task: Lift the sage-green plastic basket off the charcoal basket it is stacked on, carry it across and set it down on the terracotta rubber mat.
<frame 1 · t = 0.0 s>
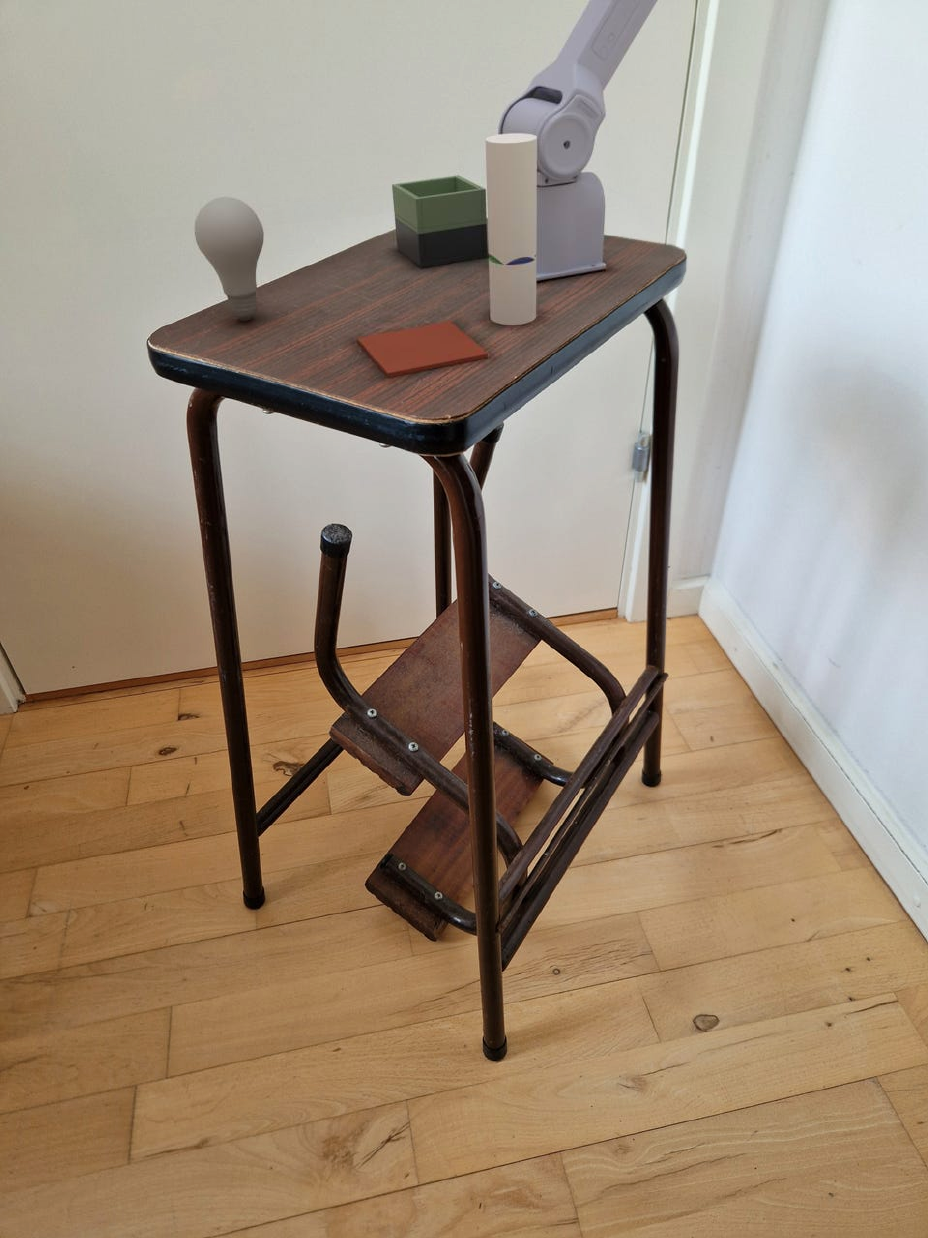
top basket: (439, 220, 98), point 3 cm above the table, touching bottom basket
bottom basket: (441, 253, 100), on the table, touching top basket
mat: (420, 349, 78), on the table
tube: (513, 319, 83), on the table
lightbulb: (246, 322, 86), on the table
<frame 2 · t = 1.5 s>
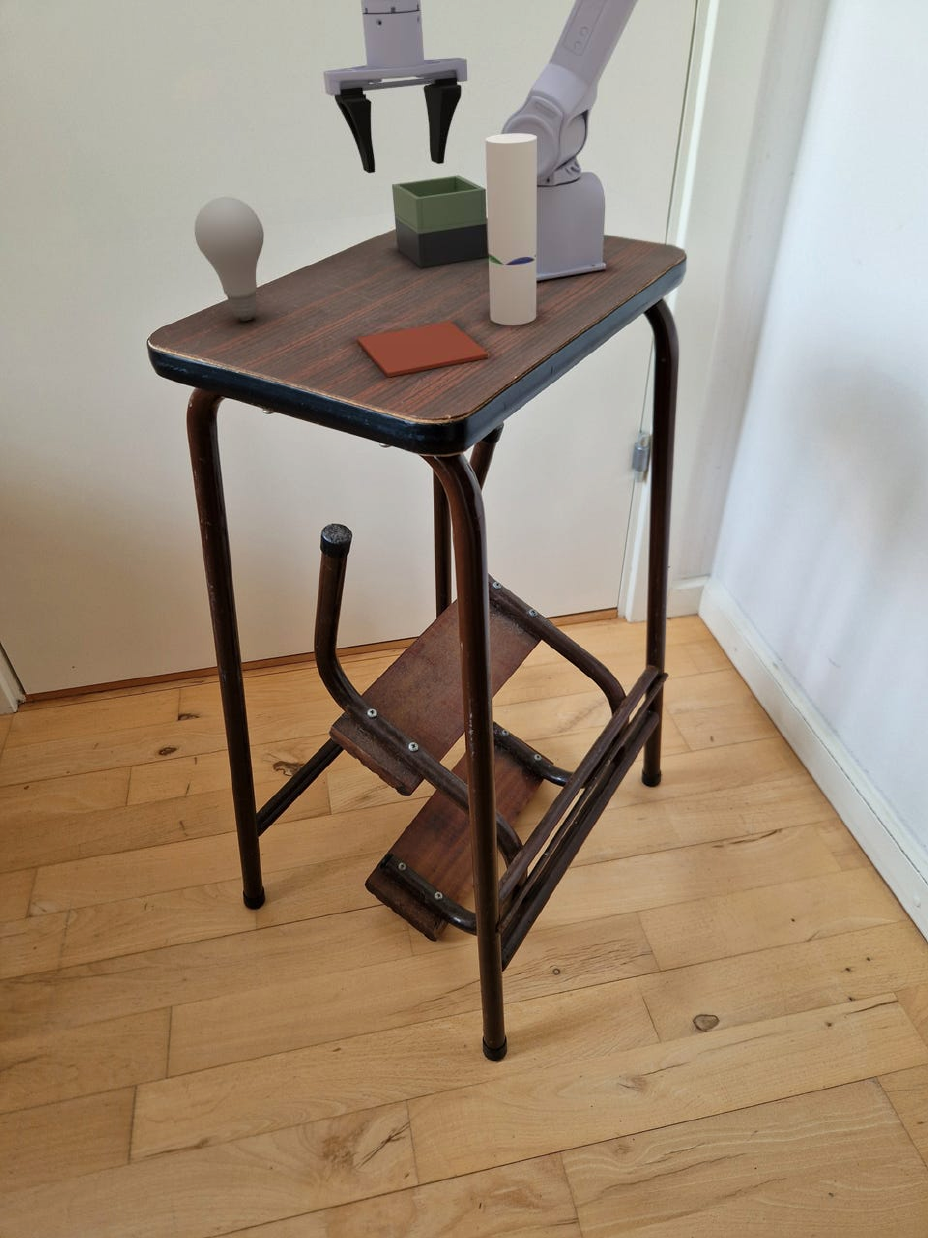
hand: (403, 166, 94), 9 cm above the table, tool pointing down, fingers open, 7 cm apart
nothing on the table moved.
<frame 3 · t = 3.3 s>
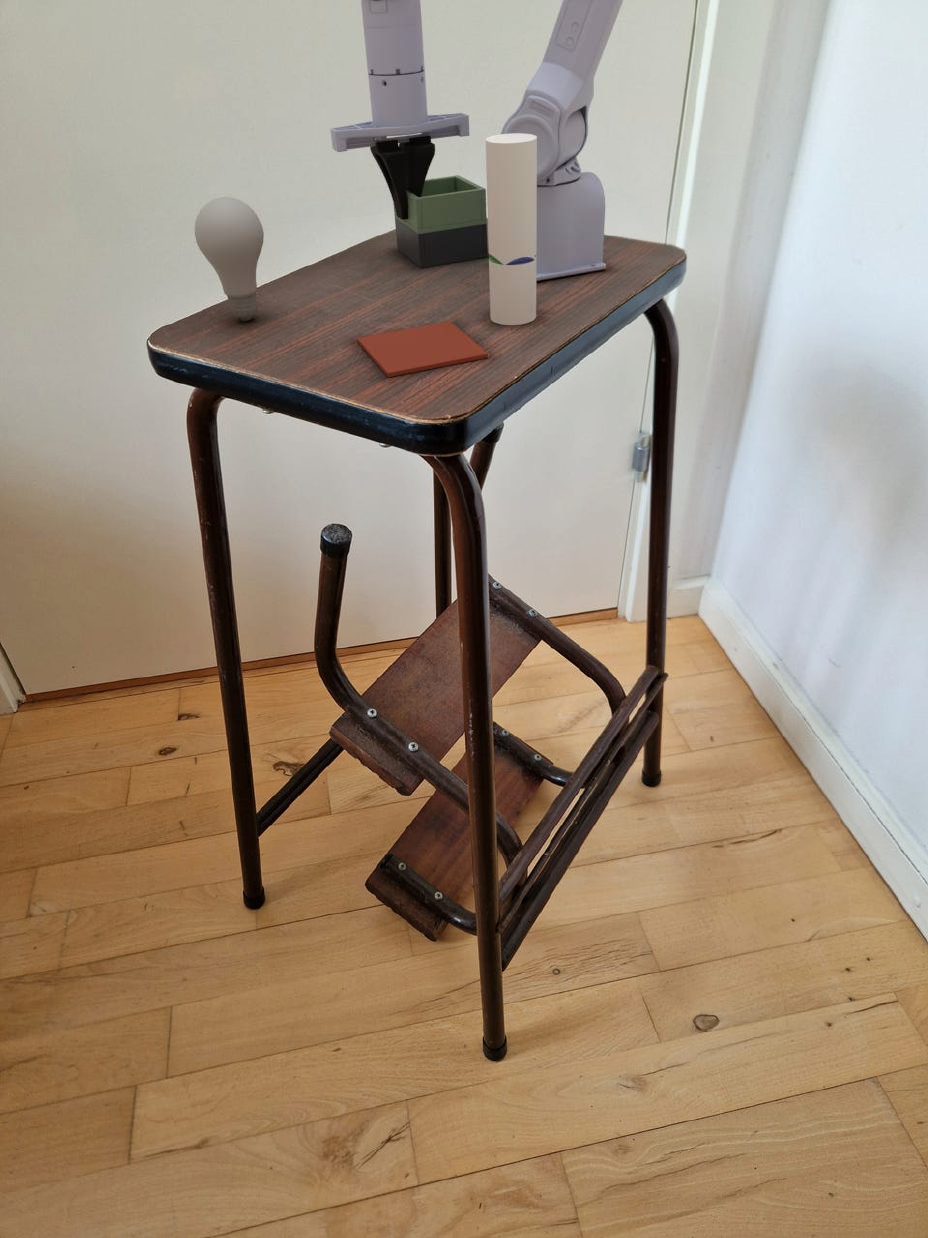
hand: (407, 216, 97), 4 cm above the table, tool pointing down, fingers closed on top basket
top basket: (439, 220, 98), point 4 cm above the table, touching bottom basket, gripper
everything else where it was.
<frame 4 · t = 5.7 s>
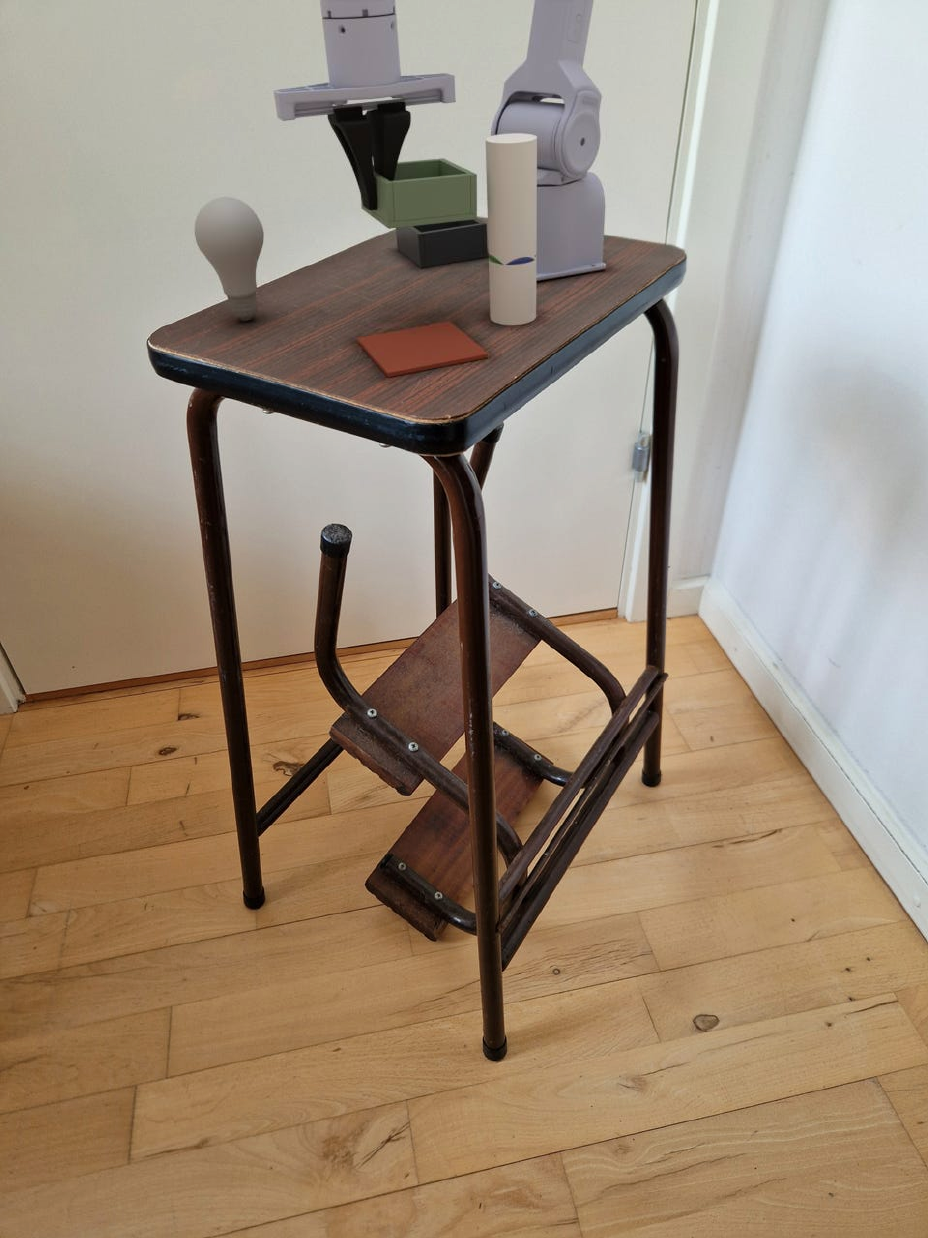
hand: (377, 206, 76), 10 cm above the table, tool pointing down, fingers closed on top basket
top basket: (417, 213, 78), point 9 cm above the table, touching gripper
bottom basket: (441, 253, 100), on the table
everything else where it was.
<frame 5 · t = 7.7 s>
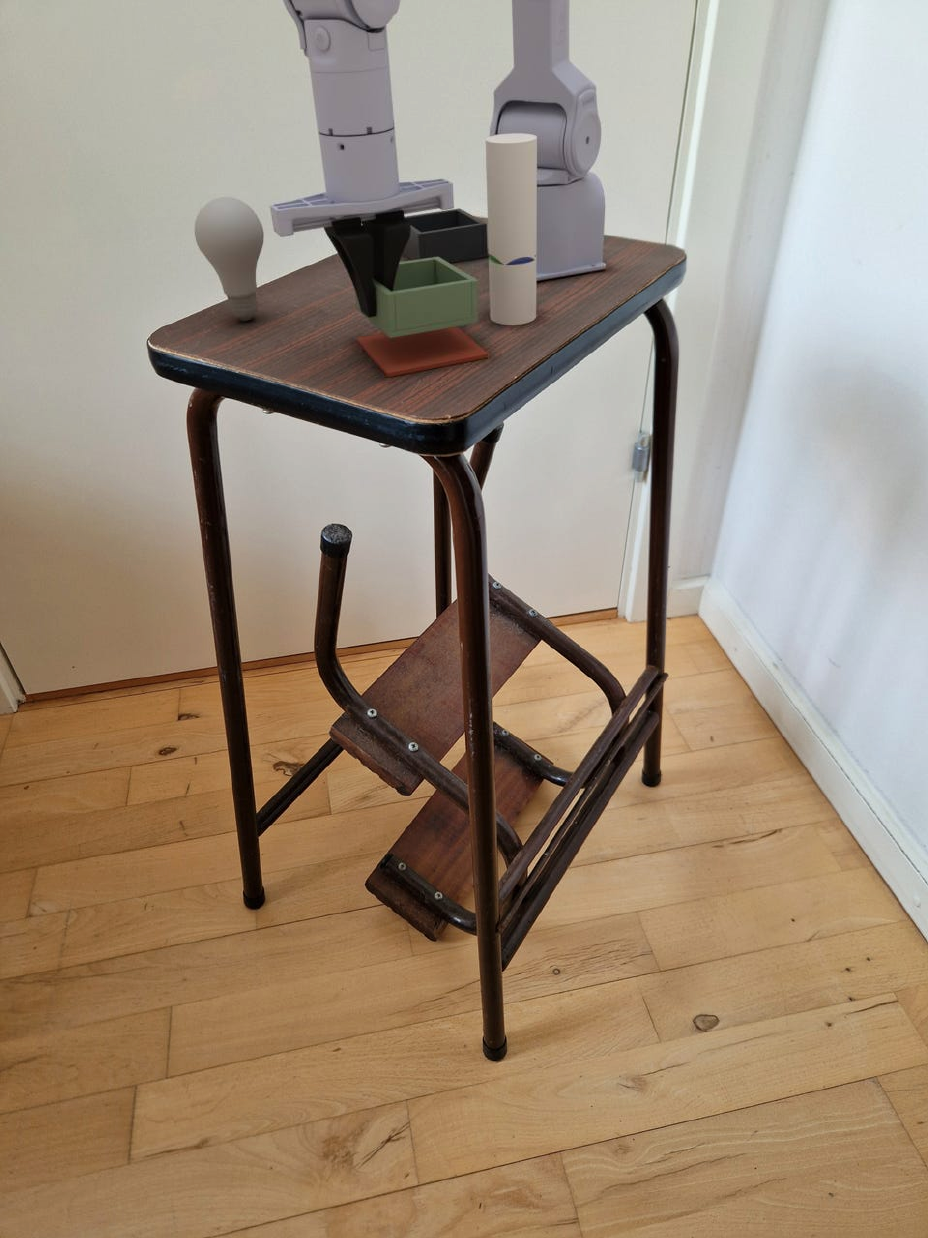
hand: (375, 312, 74), 4 cm above the table, tool pointing down, fingers closed on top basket
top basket: (416, 316, 76), point 3 cm above the table, touching gripper
everything else where it was.
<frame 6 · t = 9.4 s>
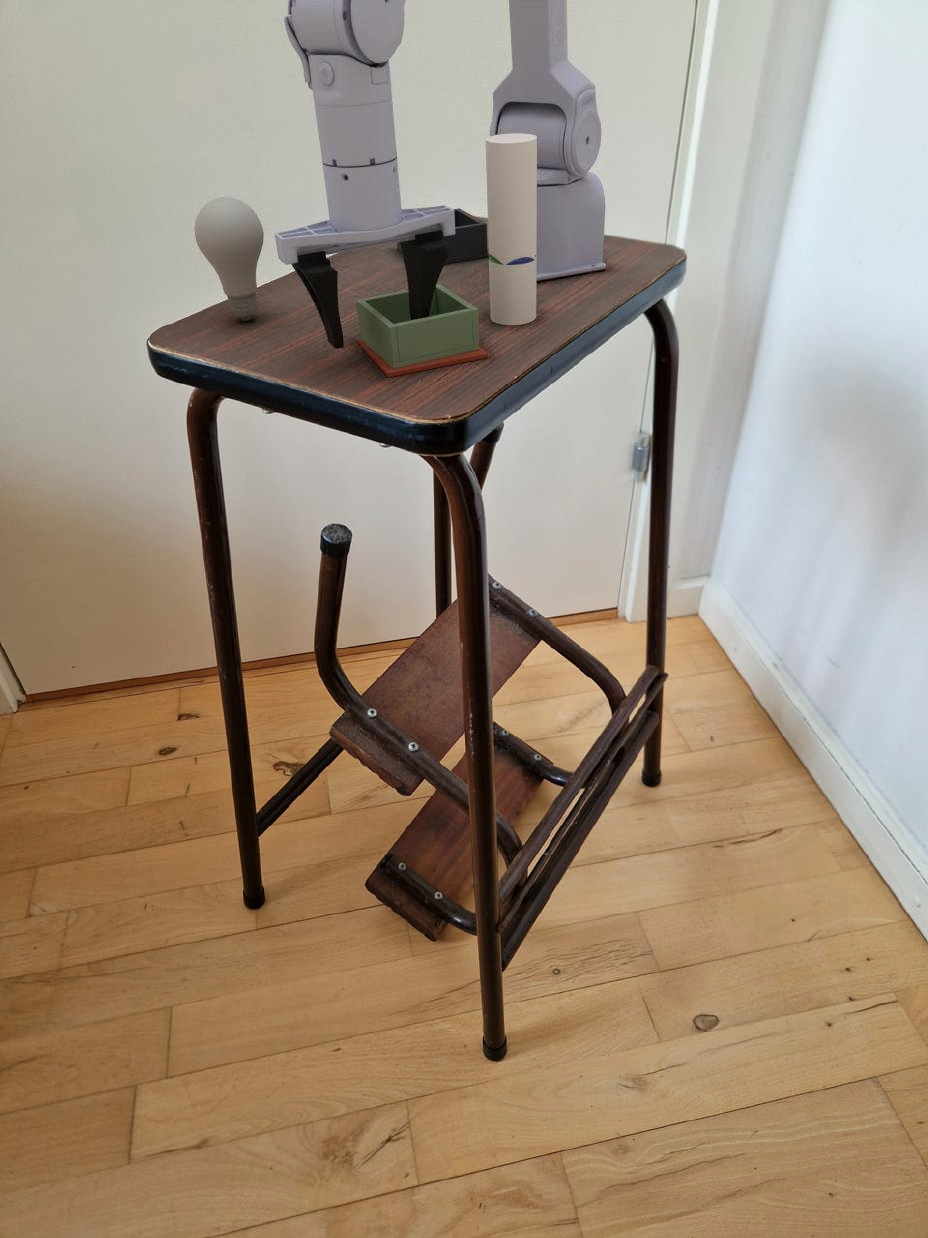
hand: (378, 335, 75), 2 cm above the table, tool pointing down, fingers open, 7 cm apart
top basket: (418, 344, 78), resting on mat
everything else where it was.
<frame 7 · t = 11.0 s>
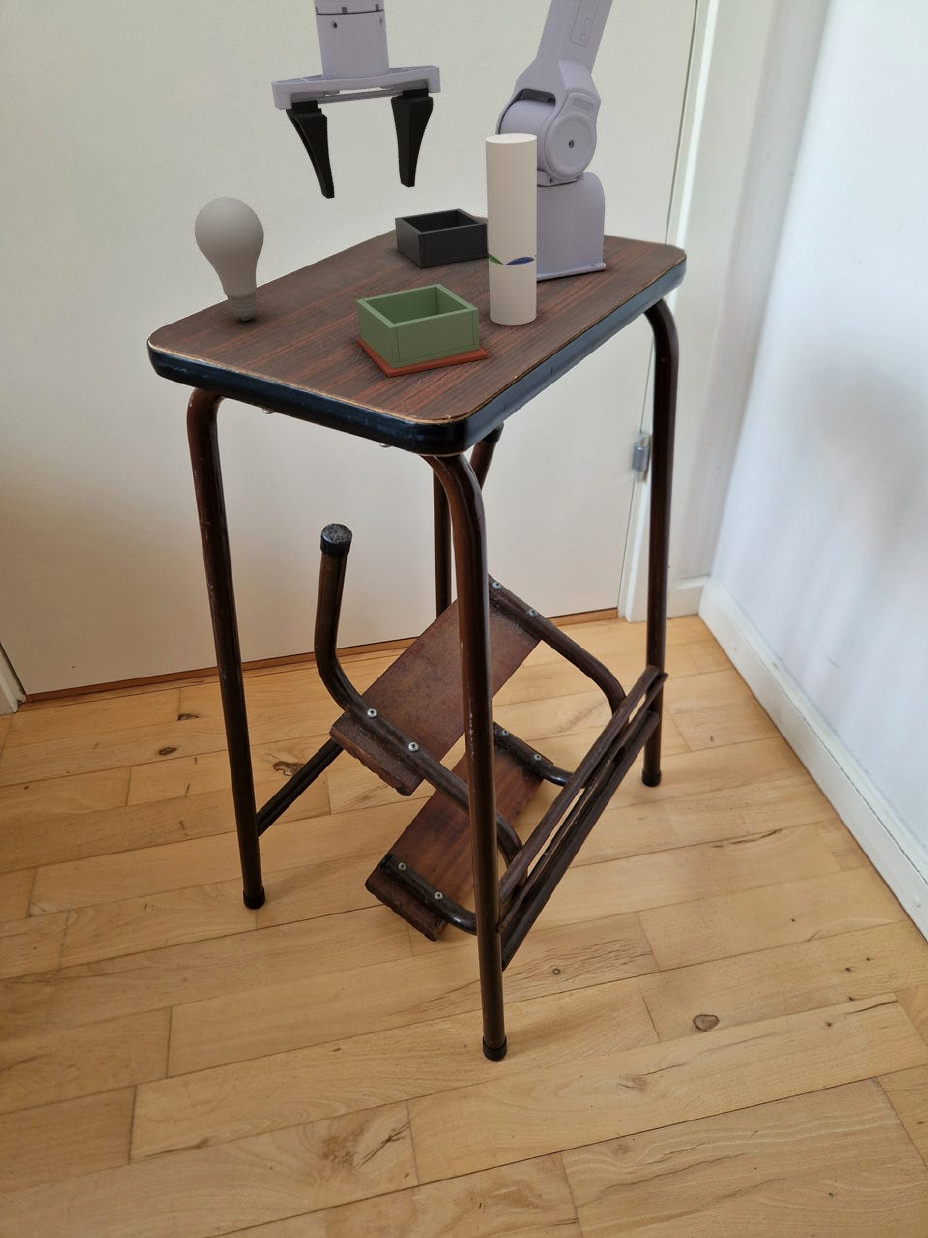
hand: (368, 190, 81), 10 cm above the table, tool pointing down, fingers open, 7 cm apart
nothing on the table moved.
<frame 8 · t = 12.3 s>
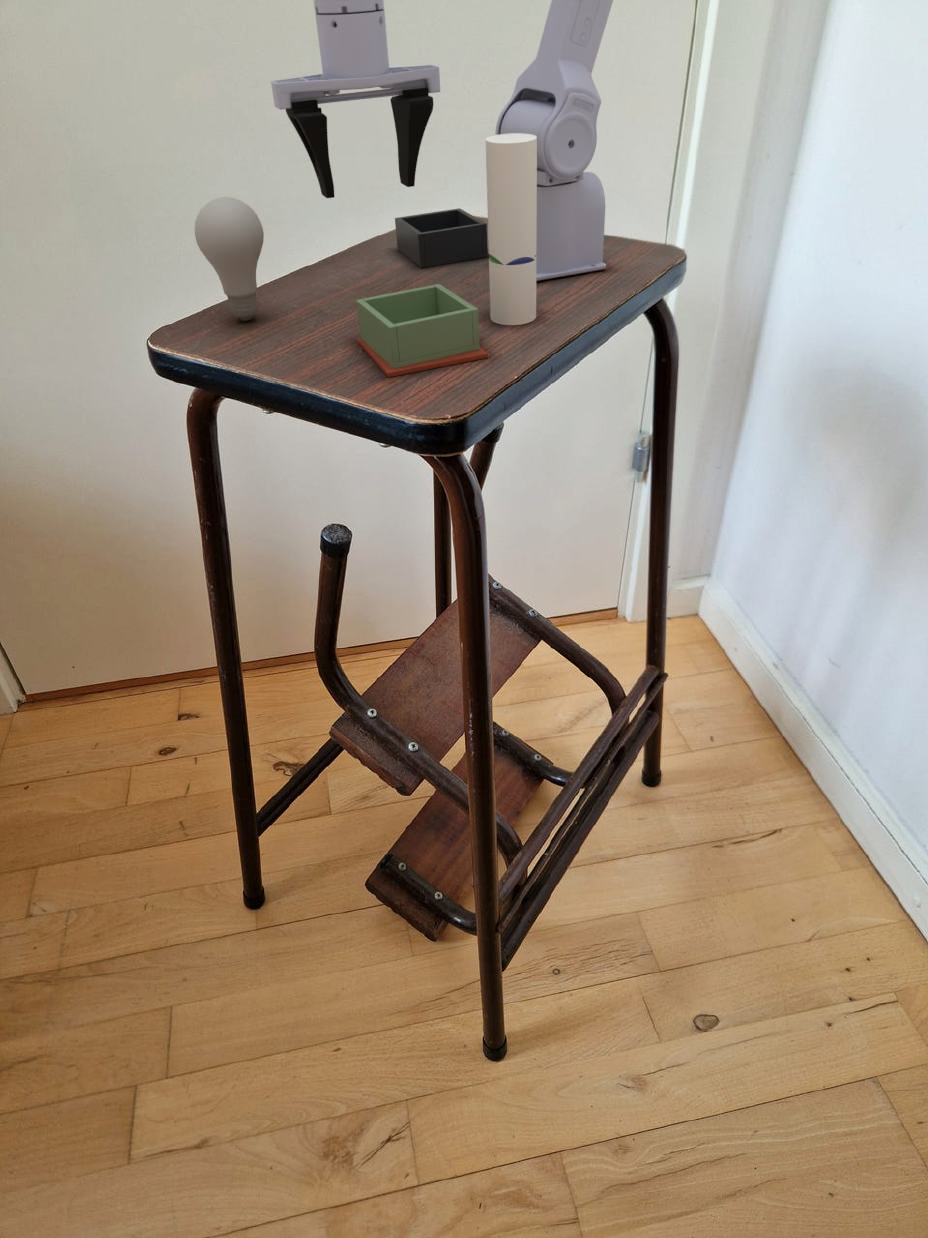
hand: (368, 190, 81), 10 cm above the table, tool pointing down, fingers open, 7 cm apart
nothing on the table moved.
at the end: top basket 0.3 cm off-centre on the mat, point 0.4 cm above the mat's base; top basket tilted 0°; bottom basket moved 0.0 cm from its start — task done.
